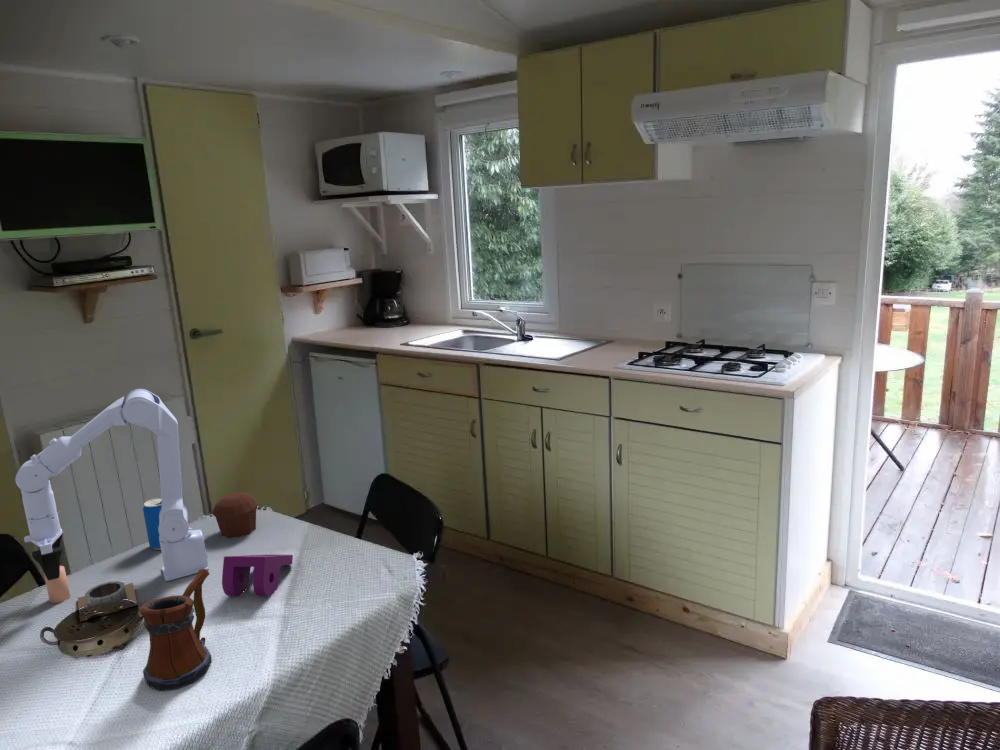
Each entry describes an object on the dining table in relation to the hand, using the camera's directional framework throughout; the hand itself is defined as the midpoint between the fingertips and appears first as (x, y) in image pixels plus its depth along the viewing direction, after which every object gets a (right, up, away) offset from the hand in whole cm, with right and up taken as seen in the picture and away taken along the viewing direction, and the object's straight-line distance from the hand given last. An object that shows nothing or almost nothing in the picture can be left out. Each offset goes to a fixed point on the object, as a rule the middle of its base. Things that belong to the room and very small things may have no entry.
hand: (53, 571), depth 159 cm
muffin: (+29, +2, +32) cm, 43 cm away
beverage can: (+12, 0, +25) cm, 28 cm away
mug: (+41, -10, -24) cm, 48 cm away
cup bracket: (+13, -6, -2) cm, 14 cm away
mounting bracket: (+45, -4, +4) cm, 46 cm away
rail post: (0, -6, +2) cm, 7 cm away
